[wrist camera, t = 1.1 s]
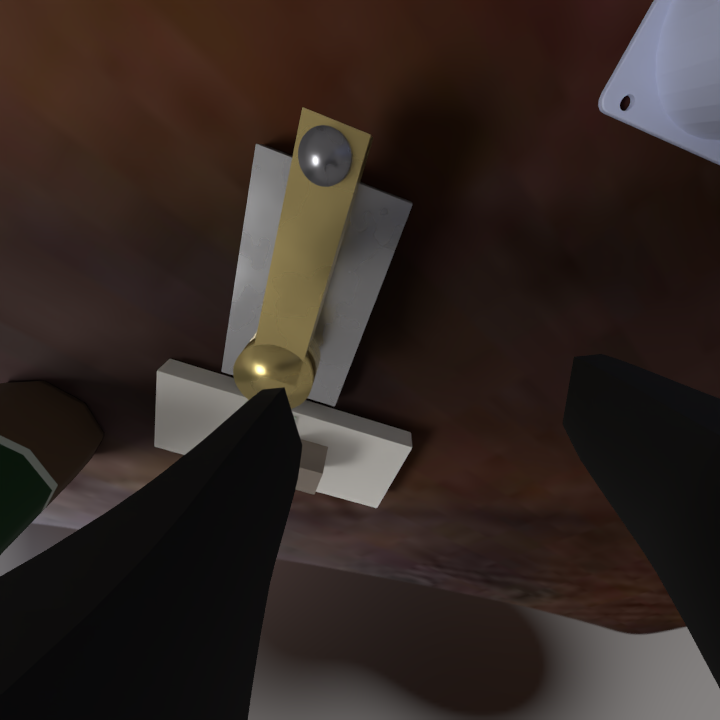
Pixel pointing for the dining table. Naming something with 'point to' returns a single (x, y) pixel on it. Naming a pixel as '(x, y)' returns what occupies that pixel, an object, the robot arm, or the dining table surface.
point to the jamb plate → (349, 278)
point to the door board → (315, 427)
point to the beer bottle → (39, 450)
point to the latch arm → (304, 257)
